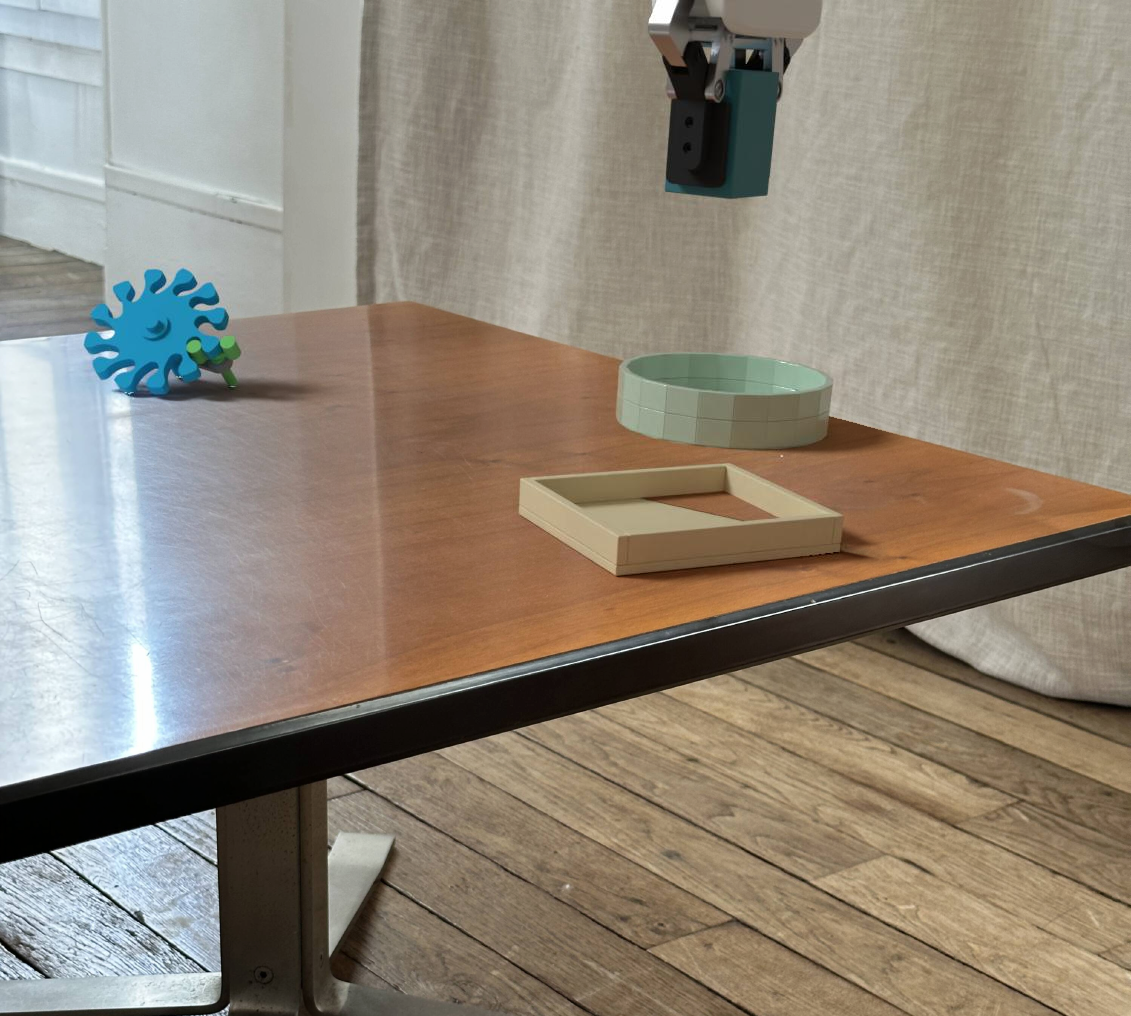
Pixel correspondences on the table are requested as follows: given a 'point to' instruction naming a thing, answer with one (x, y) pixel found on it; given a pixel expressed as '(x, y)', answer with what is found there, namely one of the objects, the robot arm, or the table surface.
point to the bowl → (723, 400)
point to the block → (745, 136)
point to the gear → (162, 334)
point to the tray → (675, 518)
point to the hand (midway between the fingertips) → (718, 179)
